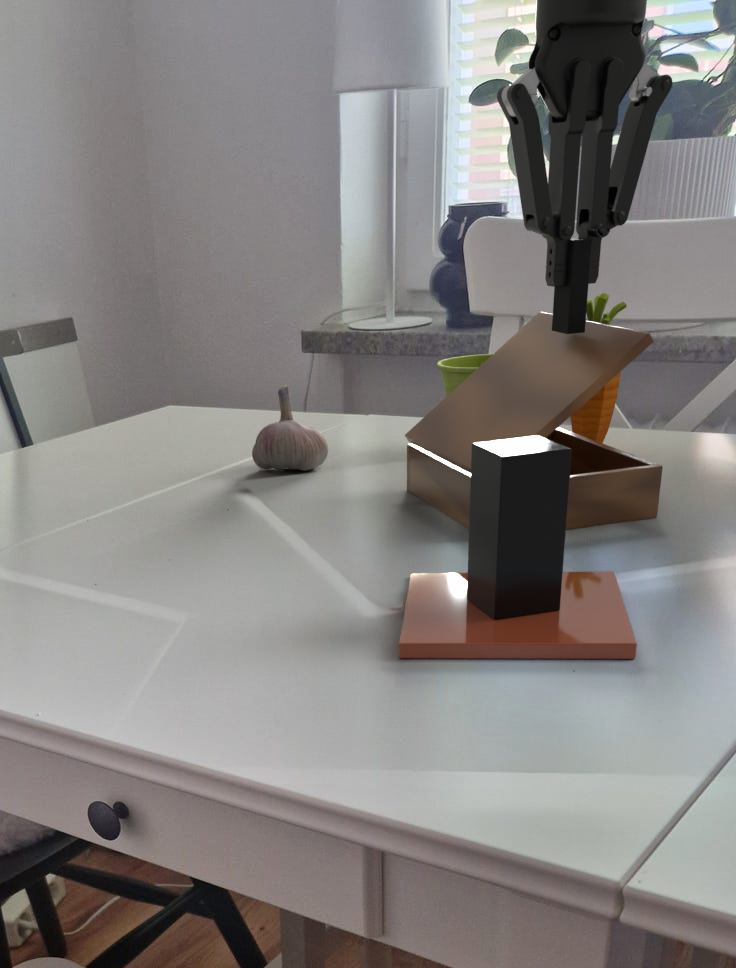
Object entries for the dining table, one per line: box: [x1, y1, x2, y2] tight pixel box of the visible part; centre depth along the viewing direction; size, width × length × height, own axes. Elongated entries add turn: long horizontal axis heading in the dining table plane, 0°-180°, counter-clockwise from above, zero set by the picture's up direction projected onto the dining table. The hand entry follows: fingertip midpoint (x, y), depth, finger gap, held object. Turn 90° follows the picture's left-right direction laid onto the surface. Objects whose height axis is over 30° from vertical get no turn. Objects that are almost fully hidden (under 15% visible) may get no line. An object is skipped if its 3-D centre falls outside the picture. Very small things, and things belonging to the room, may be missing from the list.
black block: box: [467, 435, 572, 620], centre depth 73 cm, size 4×4×10 cm
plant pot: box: [436, 353, 494, 398], centre depth 117 cm, size 9×9×9 cm
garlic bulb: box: [251, 384, 329, 471], centre depth 116 cm, size 8×7×8 cm
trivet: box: [398, 570, 638, 660], centre depth 76 cm, size 14×14×1 cm
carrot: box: [569, 292, 627, 444], centre depth 108 cm, size 5×5×15 cm
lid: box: [404, 311, 655, 473], centre depth 94 cm, size 15×18×1 cm
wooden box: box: [406, 426, 663, 531], centre depth 97 cm, size 14×18×5 cm
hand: (568, 331), depth 92 cm, fingers closed
